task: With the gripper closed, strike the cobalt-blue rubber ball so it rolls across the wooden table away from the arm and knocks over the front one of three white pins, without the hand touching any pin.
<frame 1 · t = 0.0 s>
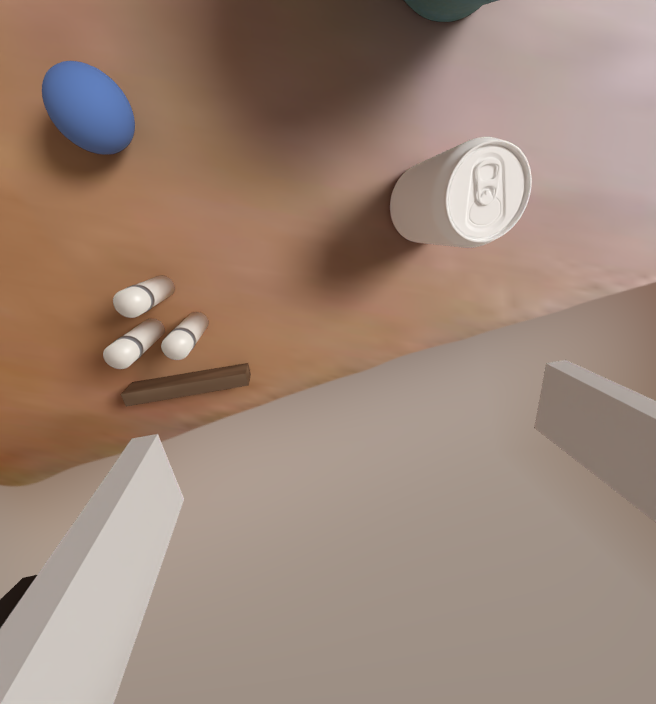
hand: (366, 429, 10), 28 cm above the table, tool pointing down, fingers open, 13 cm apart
ball: (91, 111, 25), on the table
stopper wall: (192, 378, 38), on the table
beverage can: (421, 204, 35), on the table
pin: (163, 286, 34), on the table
pin 2: (153, 328, 35), on the table
pin 1: (197, 321, 36), on the table
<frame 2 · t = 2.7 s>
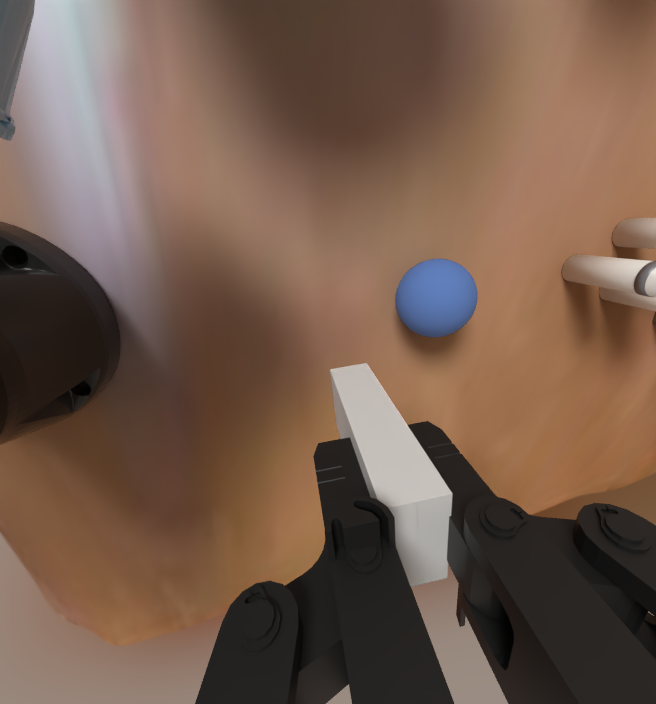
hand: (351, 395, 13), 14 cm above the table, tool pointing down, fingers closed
ball: (434, 298, 24), on the table
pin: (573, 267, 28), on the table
pin 2: (610, 287, 30), on the table
pin 1: (624, 232, 28), on the table
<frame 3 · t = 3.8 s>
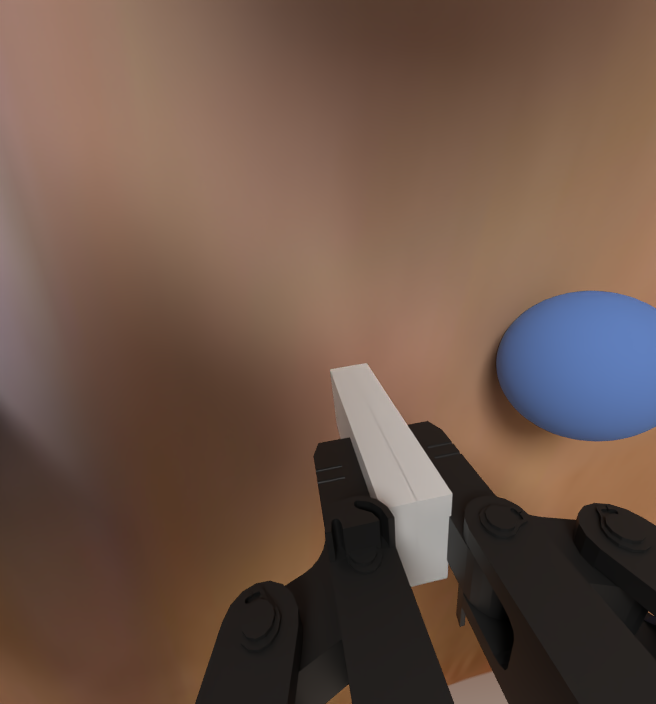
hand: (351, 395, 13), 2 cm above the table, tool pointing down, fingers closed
ball: (579, 365, 13), on the table
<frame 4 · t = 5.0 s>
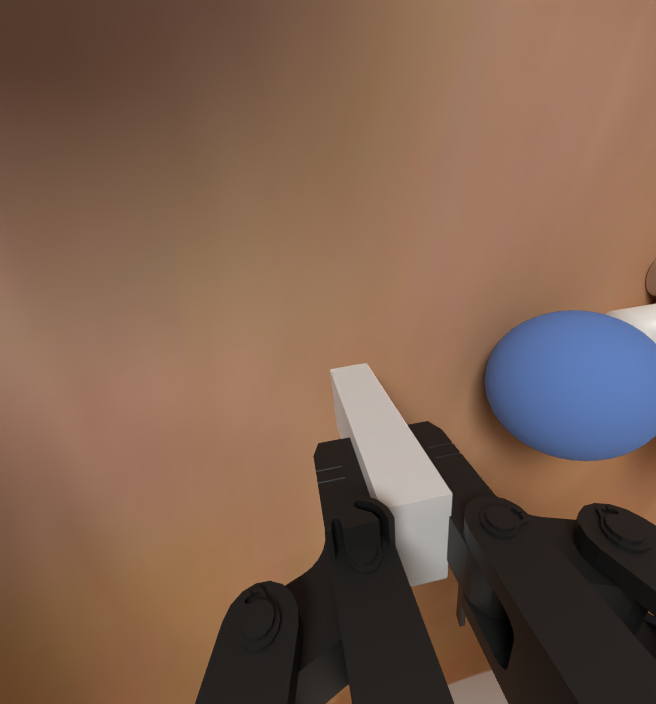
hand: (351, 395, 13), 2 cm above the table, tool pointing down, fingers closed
ball: (566, 383, 13), on the table
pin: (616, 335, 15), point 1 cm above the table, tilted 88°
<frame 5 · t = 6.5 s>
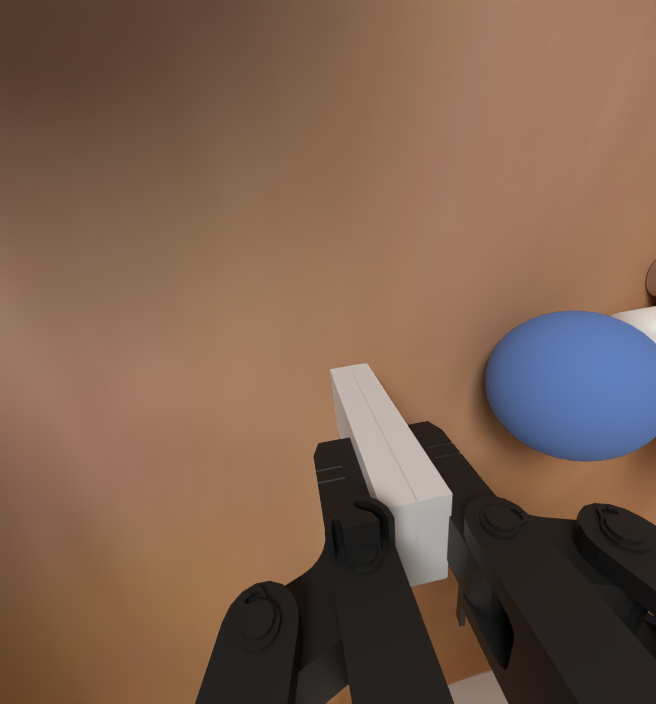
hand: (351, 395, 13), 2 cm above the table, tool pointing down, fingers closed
ball: (566, 384, 13), on the table
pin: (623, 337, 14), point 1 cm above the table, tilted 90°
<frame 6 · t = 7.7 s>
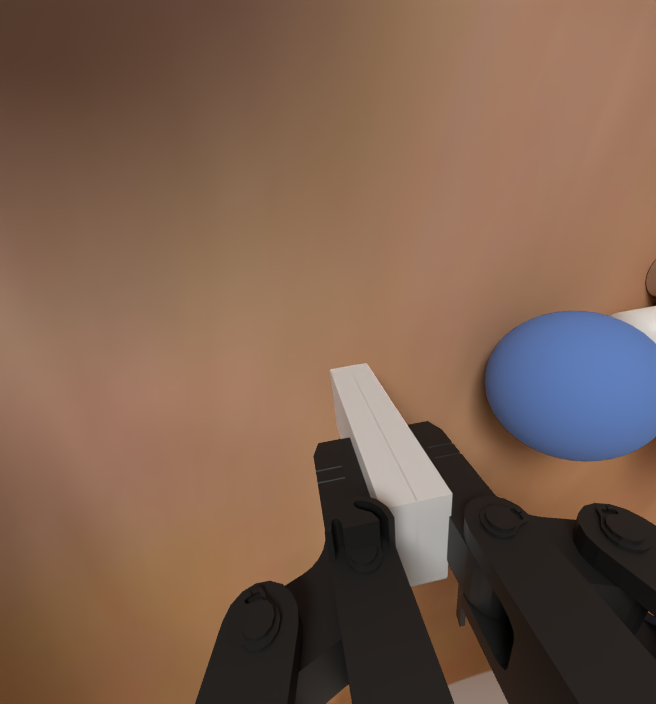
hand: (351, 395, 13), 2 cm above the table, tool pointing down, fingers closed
ball: (566, 384, 13), on the table
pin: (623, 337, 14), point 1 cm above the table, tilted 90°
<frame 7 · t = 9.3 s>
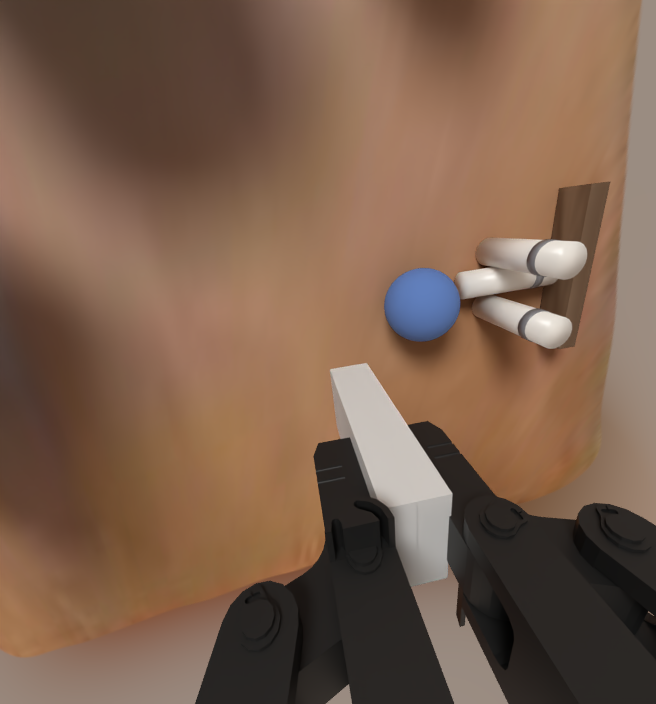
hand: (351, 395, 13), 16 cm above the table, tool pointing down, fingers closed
ball: (420, 305, 25), on the table
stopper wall: (553, 269, 29), on the table
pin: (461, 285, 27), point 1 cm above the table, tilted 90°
pin 2: (483, 305, 30), on the table
pin 1: (488, 251, 28), on the table
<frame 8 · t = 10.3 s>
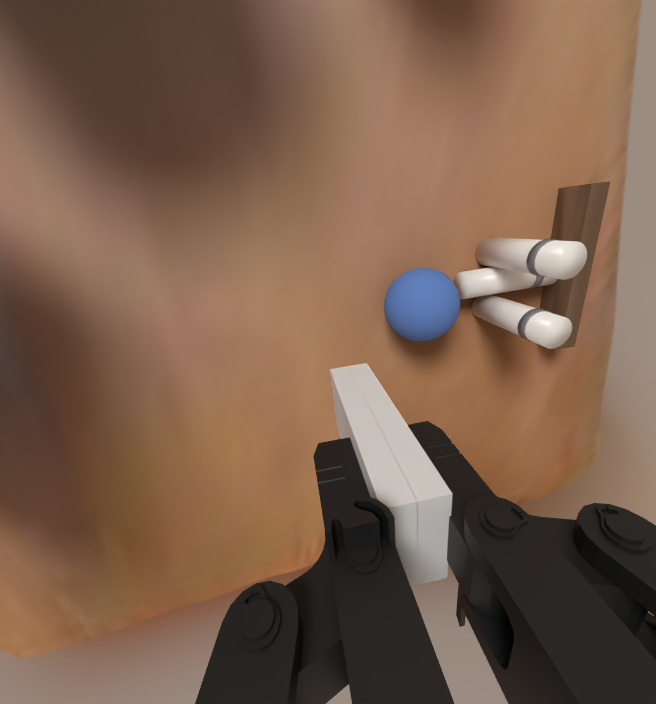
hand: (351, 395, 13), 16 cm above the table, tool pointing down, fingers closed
ball: (420, 305, 25), on the table
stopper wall: (553, 269, 29), on the table
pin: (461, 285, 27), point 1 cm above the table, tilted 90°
pin 2: (483, 305, 30), on the table
pin 1: (487, 251, 28), on the table
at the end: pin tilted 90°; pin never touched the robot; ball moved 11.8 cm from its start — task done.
